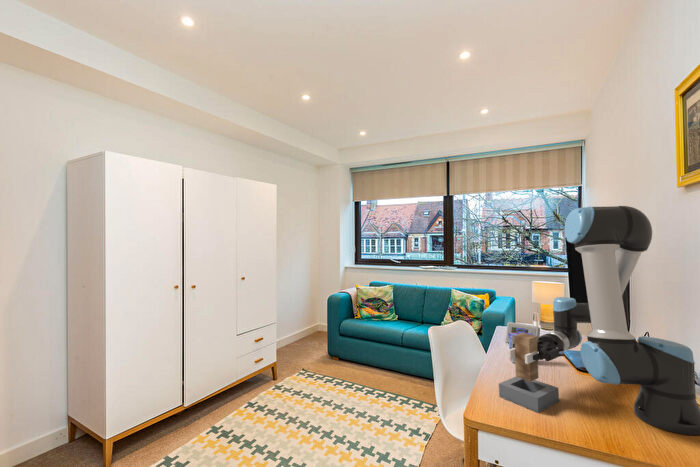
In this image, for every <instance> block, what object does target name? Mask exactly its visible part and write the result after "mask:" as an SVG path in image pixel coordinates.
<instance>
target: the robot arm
mask: <svg viewBox="0 0 700 467" xmlns="http://www.w3.org/2000/svg"><path fill="white" fill-rule="evenodd" d="M563 231H564V237H565V239H566V241H567V242H568V243H570V244H574V249H575V251H577V252H578V253H580V254H581V255H580V256H581V260H582V267H583V268H582V269H583V275H584V282H585V289H586V296H587V302H577V301H576V298H574V297H568V296H567V297H564V296H558V297H555V298H554V299H553V304H552V311H553V312H552V313H553V331H551V332H548V333H545V334H542V335H541V336H540V337H539V339H538V340H537V347H538V351H534V352H531V353H529V354H526V355H525V363H526V364H529V363H531V362H533V361H537V360H538V361H543V360H545V362H550V361H553V360H555V359H557V358H559V357H564V356H565V352H566V351H569V350H572V349H575V348H576V347H578V346H579V345H580V344H581V345H580V346H581V347H580V353H579V354H580V357H581V361H582V364H583V366H584V367H585V369H586V370H587V372H588V374H589V375H590V376H591V377H592V378H593V379H594V380H595V381H597V382H598V383H603V384H612V385H617V386H618V385H639V386H640V389H639V391H638V394H637V396H636V399H635V401H634V404H633V413H634V415H635V416H636V417H637V418H638V419H640V420H641V421H643V422H644V423H647V424H649V425H651V426H653V427H655V428H658V429H661V430H664V431H668V432H670V433H676V434H680V435H687V436H700V405H699V404H698V402H697V397H696V377H695V376H696V374H695V373H696V372H695V371H696V370H695V365H696V362H695V360H694V352H693V351H692V349H691V348H690V347H688V345H684V344H681V343H679V342H676V341H672V340H667V339H663V338H659V337H653V336H643V335H641V336H638V339H637V340H636V337H635V336H634V335H633V334H632V333H631V332H629V331H628V324H627V319H626V313H625V312H626V311H625V306H624V301H623V300H624V299H623V295H624V292H625V290H626V287H627V286H628V284H629V281H630V279H631V277H632V275H633V273H634V270H635V268H636V266H637V264H638V261H639V259H640V256H642V253H644V252H647V251H648V249H649V247H650V245H651V242H652V240H653V227H652V223H651V221H650V219H649V218H648V216H646V214H645V213H643V211H641V210H639V209H637V208H636V207H632V206H628V205H618V206H587V207H586V206H585V207H577V208H575V209H572V211H571V212H569V214H568V216H567V217H566V219H565V222H564V230H563ZM578 324H591V325H590V326H591V331H589V332H588V334H587V335H586V337H587V341H584V342H582V341H583V337H582V334H581V332H580V330H578ZM507 352H508V353H507V356H508V359H509V360H510V359H511V358H514V357H515V343H514V344H513V348H512V349H508V350H507Z"/></svg>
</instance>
